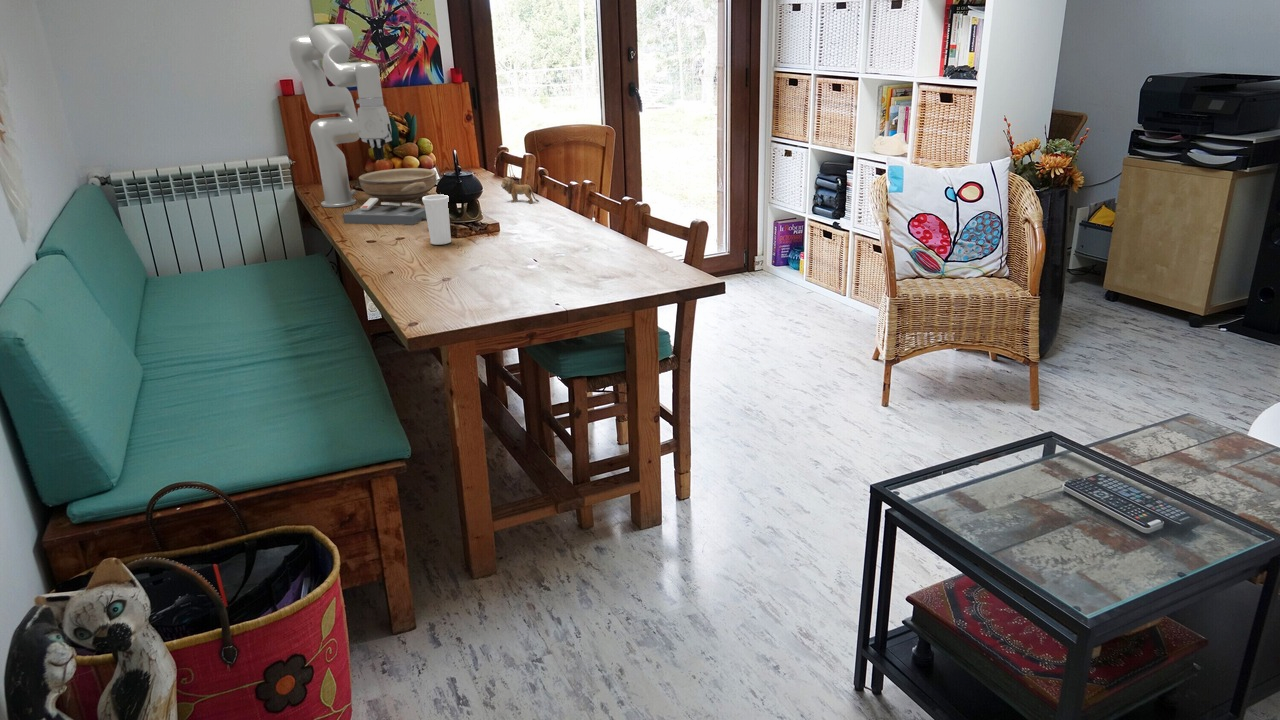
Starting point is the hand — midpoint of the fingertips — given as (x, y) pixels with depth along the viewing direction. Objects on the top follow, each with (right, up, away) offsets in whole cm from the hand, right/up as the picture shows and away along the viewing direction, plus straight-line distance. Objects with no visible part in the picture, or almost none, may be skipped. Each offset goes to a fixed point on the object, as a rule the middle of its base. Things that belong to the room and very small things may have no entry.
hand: (379, 159), depth 292 cm
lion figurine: (+43, -9, +29) cm, 53 cm away
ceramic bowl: (-4, -7, +39) cm, 40 cm away
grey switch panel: (+4, -19, +8) cm, 21 cm away
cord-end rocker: (+9, -15, +7) cm, 19 cm away
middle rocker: (+1, -14, +9) cm, 17 cm away
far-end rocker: (-7, -14, +11) cm, 19 cm away
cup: (+27, -32, -26) cm, 49 cm away
